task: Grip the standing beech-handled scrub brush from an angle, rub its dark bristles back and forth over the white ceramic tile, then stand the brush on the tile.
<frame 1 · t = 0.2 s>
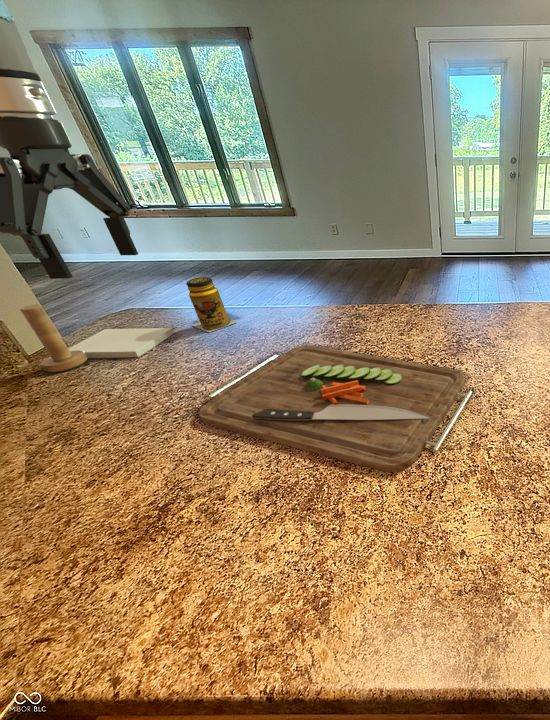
hand: (98, 265, 64), 23 cm above the countertop, tool pointing down, fingers open, 13 cm apart
brush: (70, 370, 78), on the countertop
condiment: (215, 324, 98), on the countertop
chopping board: (342, 398, 70), on the countertop
tile: (122, 345, 88), on the countertop
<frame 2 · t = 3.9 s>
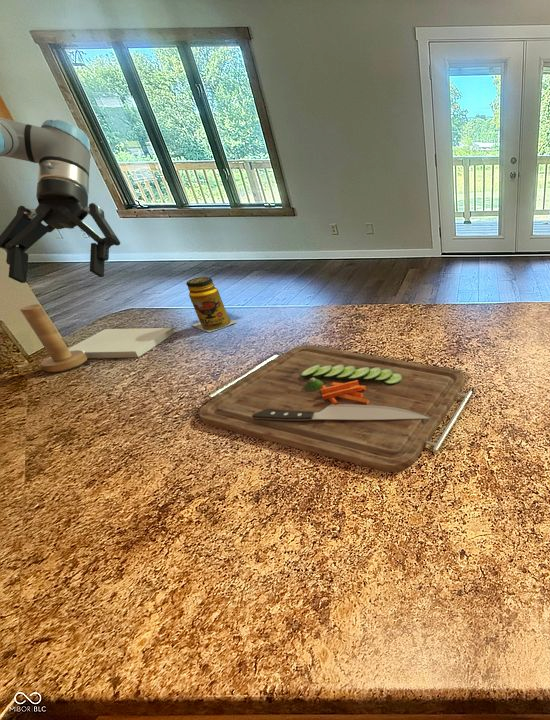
hand: (57, 277, 78), 17 cm above the countertop, tool tilted 45°, fingers open, 13 cm apart
nothing on the countertop moved.
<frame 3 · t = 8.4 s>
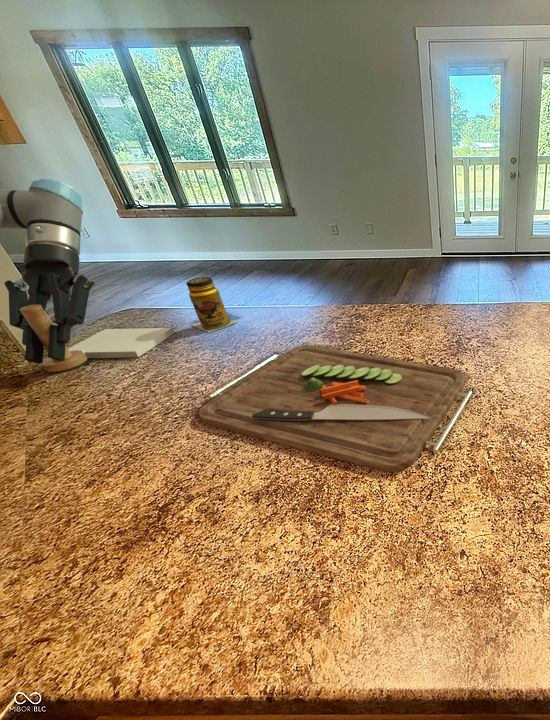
hand: (45, 359, 73), 5 cm above the countertop, tool tilted 45°, fingers closed on brush, 3 cm apart
brush: (70, 370, 78), on the countertop, touching gripper
everything else where it was.
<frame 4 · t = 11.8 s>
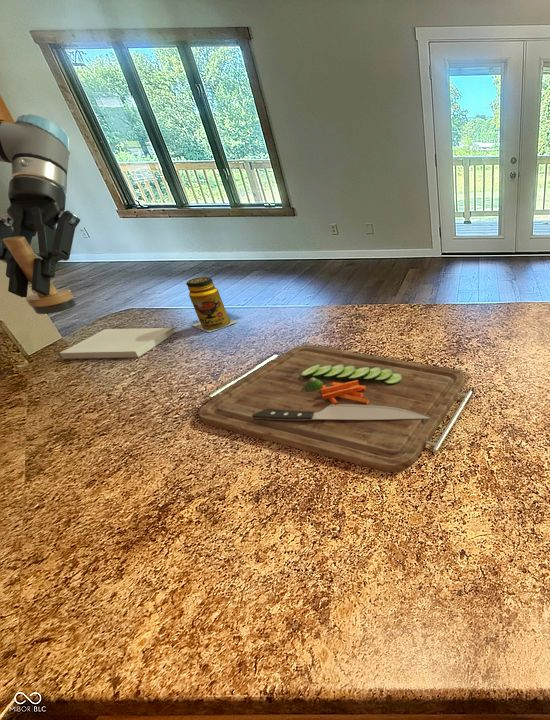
hand: (29, 293, 72), 16 cm above the countertop, tool tilted 45°, fingers closed on brush, 3 cm apart
brush: (56, 308, 77), point 12 cm above the countertop, touching gripper
everything else where it was.
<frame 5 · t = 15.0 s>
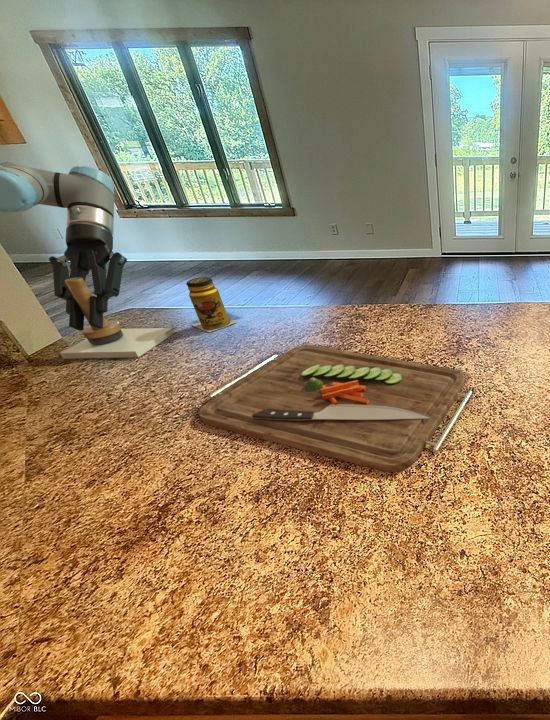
hand: (86, 327, 81), 6 cm above the countertop, tool tilted 45°, fingers closed on brush, 3 cm apart
brush: (106, 338, 87), point 2 cm above the countertop, touching gripper
everything else where it was.
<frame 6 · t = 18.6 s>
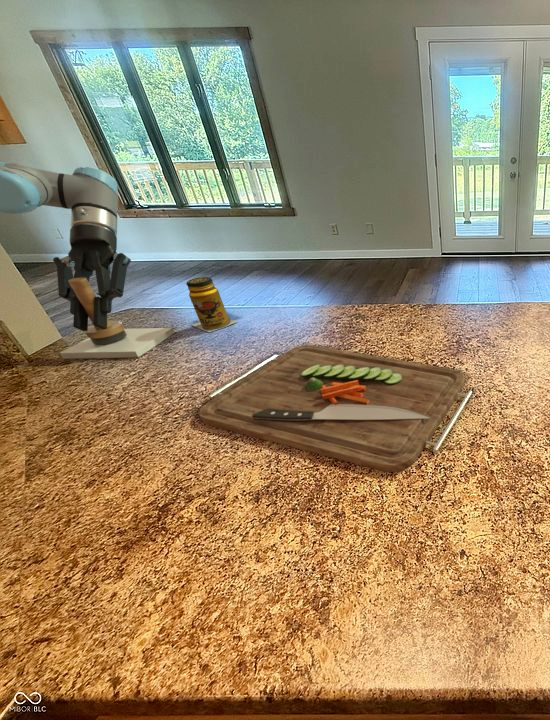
hand: (90, 327, 82), 6 cm above the countertop, tool tilted 45°, fingers closed on brush, 3 cm apart
brush: (110, 338, 87), point 2 cm above the countertop, touching gripper
everything else where it was.
when the fingers open (6 cm above the countertop, at t = 21.6 s): brush stays where it is, resting on tile.
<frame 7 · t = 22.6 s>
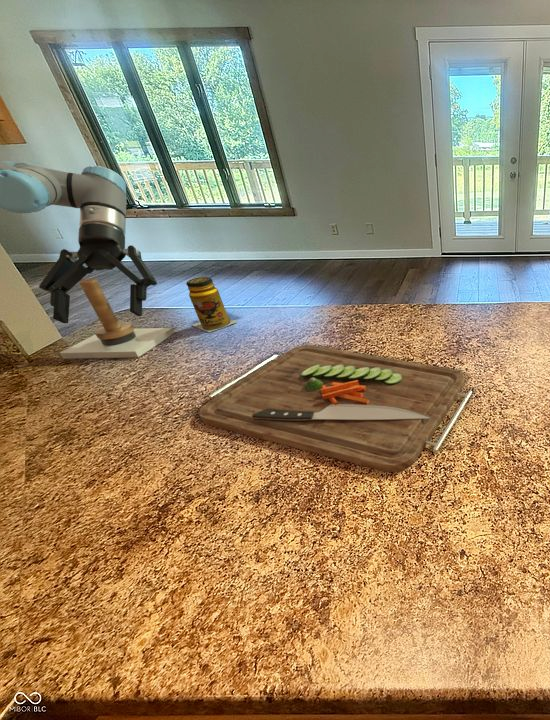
hand: (99, 317, 82), 8 cm above the countertop, tool tilted 45°, fingers open, 13 cm apart
brush: (119, 339, 87), point 1 cm above the countertop, touching tile
everything else where it was.
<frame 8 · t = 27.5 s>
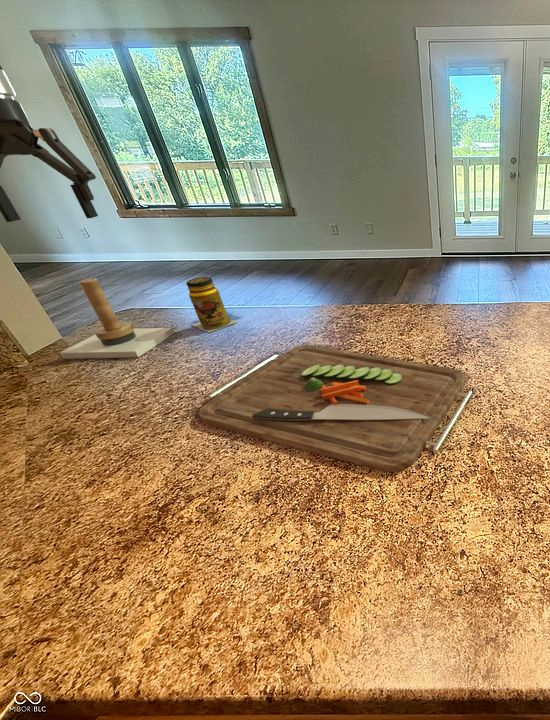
hand: (54, 219, 80), 27 cm above the countertop, tool pointing down, fingers open, 13 cm apart
nothing on the countertop moved.
at the end: brush inside the target area on the tile (0.1 cm from its centre), point 1.5 cm above the tile's base; brush tilted 0°; brush moved 11.3 cm from its start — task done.
